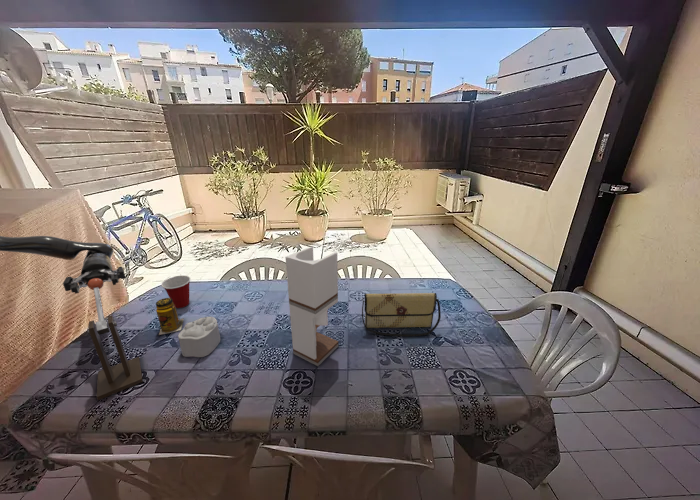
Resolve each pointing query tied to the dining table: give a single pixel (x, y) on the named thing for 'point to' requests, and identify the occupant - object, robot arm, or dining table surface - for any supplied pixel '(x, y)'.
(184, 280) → the plastic cup
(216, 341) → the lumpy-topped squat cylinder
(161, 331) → the condiment
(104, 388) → the bracket
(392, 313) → the clutch purse
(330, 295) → the white tall boxy piece
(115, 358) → the dining table surface
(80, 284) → the robot arm
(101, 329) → the lever
